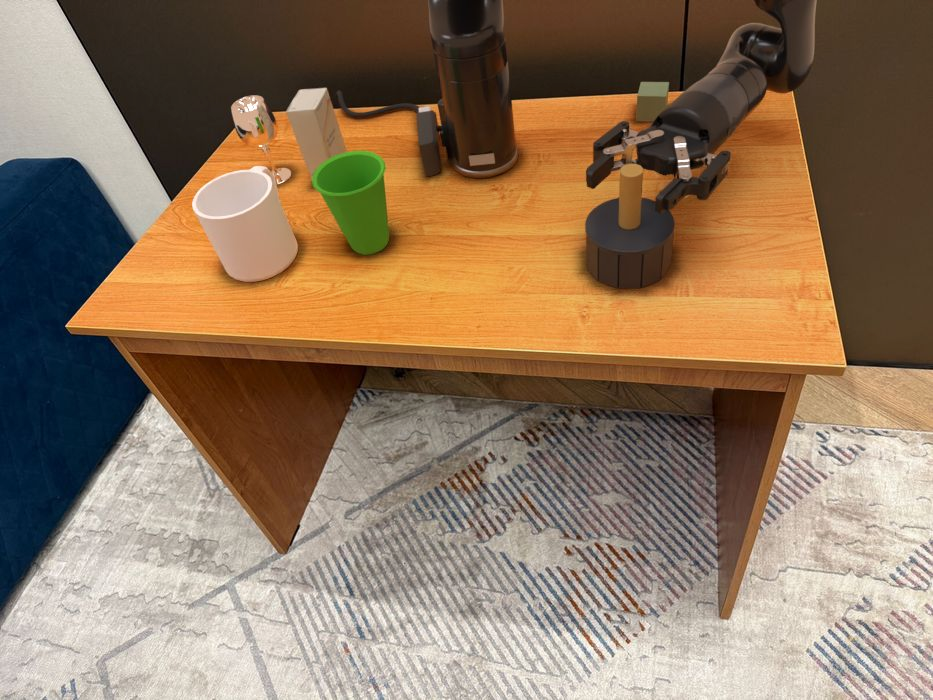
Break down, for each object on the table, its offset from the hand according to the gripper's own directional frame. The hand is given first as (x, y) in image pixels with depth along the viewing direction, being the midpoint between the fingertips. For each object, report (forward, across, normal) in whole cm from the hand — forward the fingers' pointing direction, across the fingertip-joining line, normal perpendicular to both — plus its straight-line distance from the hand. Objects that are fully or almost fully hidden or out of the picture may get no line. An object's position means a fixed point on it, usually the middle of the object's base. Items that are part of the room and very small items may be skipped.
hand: (622, 193), depth 74 cm
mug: (+22, -41, +11) cm, 48 cm away
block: (-30, -14, +11) cm, 35 cm away
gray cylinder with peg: (-2, 0, +11) cm, 11 cm away
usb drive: (-6, -38, +8) cm, 39 cm away
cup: (+13, -30, +11) cm, 34 cm away
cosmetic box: (+5, -47, +11) cm, 48 cm away
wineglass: (+10, -54, +11) cm, 56 cm away
